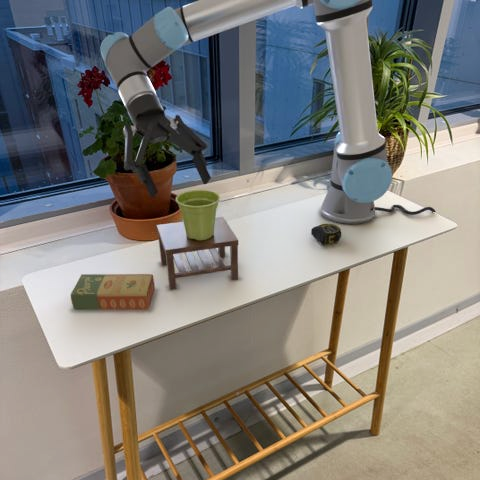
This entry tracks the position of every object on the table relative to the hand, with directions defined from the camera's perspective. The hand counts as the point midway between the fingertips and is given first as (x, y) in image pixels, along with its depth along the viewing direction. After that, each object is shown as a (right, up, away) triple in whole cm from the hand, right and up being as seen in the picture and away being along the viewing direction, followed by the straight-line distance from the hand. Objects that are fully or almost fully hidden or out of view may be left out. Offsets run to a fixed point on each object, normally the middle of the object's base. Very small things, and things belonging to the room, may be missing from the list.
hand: (182, 188), depth 107 cm
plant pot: (+4, -10, +1) cm, 11 cm away
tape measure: (+35, -9, +20) cm, 41 cm away
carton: (-14, -25, -2) cm, 29 cm away
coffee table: (+3, -18, +8) cm, 19 cm away
